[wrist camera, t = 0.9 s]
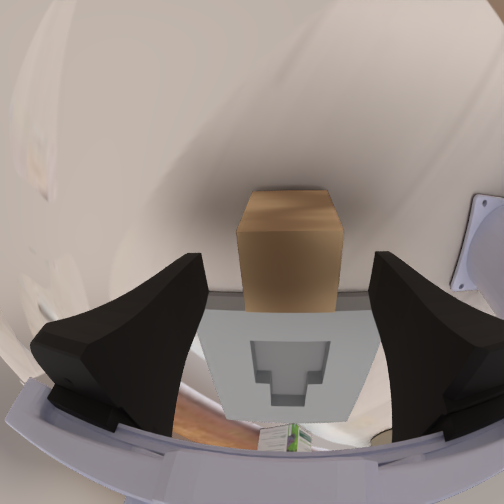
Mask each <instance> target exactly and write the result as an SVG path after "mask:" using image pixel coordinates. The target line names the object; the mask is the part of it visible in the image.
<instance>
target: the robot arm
mask: <svg viewBox="0 0 504 504" xmlns="http://www.w3.org/2000/svg"><path fill="white" fill-rule="evenodd" d="M483 201H484V203H483ZM482 203H483V204H482ZM450 287H451V289H452V291H467V290H477V289H478V290H479V291H480V293H481V294H482V295H483V297H484V298H485V300H486V301H487V303H488V304H489V306H490V307H491V309H492V310H493V312H494V313H495V315H496V316H497V317H494V316H492V315H489V314H487V313H484V312H482V311H480V310H478V309H476V308H474V307H472V306H470V305H468V304H466V303H464V302H462V301H460V300H458V299H456V298H455V297H453V296H452V295H450V294H448V293H446V292H445V291H443V290H442V289H440V288H439V287H437V286H436V285H435V284H433V283H432V282H430V281H429V280H427V279H426V278H425V277H423V276H422V275H421V274H419V273H418V272H417V271H415V270H414V269H413V268H411V267H410V266H409V265H408V264H406V263H405V262H404V261H402V260H401V259H400V258H398V257H397V256H395V255H394V254H392V253H391V252H389V251H375V256H374V262H373V268H372V274H371V279H370V284H369V289H368V294H369V300H370V305H371V310H372V314H373V317H374V320H375V323H376V326H377V329H378V333H379V336H380V339H381V342H382V346H383V349H384V352H385V356H386V361H387V366H388V373H389V380H390V389H391V401H392V443H389V444H384V445H377V446H371V447H363V448H355V449H345V450H332V451H312V452H280V451H259V450H246V449H236V448H227V447H220V446H213V445H206V444H200V443H195V442H189V441H184V440H180V439H175V438H172V429H173V421H174V414H175V408H176V402H177V396H178V391H179V387H180V382H181V377H182V373H183V369H184V365H185V361H186V358H187V355H188V352H189V350H190V347H191V344H192V342H193V339H194V337H195V334H196V332H197V329H198V327H199V324H200V322H201V319H202V316H203V314H204V311H205V307H206V303H207V299H208V294H209V290H208V285H207V280H206V275H205V270H204V265H203V260H202V255H201V253H187V254H185V255H183V256H182V257H180V258H179V259H177V260H176V261H174V262H173V263H171V264H170V265H169V266H167V267H166V268H164V269H163V270H162V271H160V272H159V273H157V274H156V275H155V276H153V277H152V278H150V279H148V280H147V281H145V282H144V283H142V284H141V285H139V286H138V287H136V288H135V289H133V290H131V291H130V292H128V293H126V294H124V295H122V296H121V297H119V298H117V299H115V300H113V301H110V302H108V303H106V304H104V305H102V306H99V307H97V308H95V309H92V310H90V311H87V312H84V313H81V314H79V315H76V316H72V317H69V318H65V319H61V320H57V321H53V322H49V323H46V324H45V325H44V326H43V327H42V329H41V330H40V331H39V332H38V334H37V335H36V336H35V338H34V339H33V340H32V342H31V344H30V348H31V352H32V354H33V356H34V358H35V360H36V361H37V362H38V364H39V365H40V366H41V368H42V369H43V370H44V371H45V373H46V374H47V375H48V376H49V377H50V379H51V380H52V381H53V382H54V383H55V385H54V387H53V389H51V388H49V387H48V386H47V385H45V384H44V383H42V382H40V381H38V380H36V379H34V378H32V377H29V379H28V381H27V382H26V384H25V385H24V387H23V389H22V390H21V392H20V393H19V395H18V397H17V399H16V400H15V402H14V404H13V405H12V407H11V409H10V410H9V412H8V414H7V416H6V418H5V422H6V423H7V424H8V425H10V426H11V427H12V428H13V429H14V430H16V431H17V432H18V433H19V434H20V435H22V436H23V437H24V438H26V439H27V440H28V441H30V442H31V443H32V444H34V445H35V446H36V447H38V448H39V449H40V450H42V451H43V452H45V453H46V454H48V455H50V456H51V457H53V458H54V459H56V460H57V461H59V462H60V463H62V464H64V465H65V466H67V467H69V468H71V469H72V470H74V471H76V472H78V473H80V474H81V475H83V476H85V477H87V478H88V479H90V480H92V481H94V482H96V483H98V484H100V485H103V486H105V487H107V488H109V489H111V490H114V491H116V492H118V493H120V494H123V495H125V496H126V498H125V501H124V504H434V503H437V502H440V501H442V500H445V499H447V498H450V497H452V496H455V495H457V494H459V493H461V492H464V491H466V490H468V489H470V488H472V487H474V486H476V485H478V484H480V483H482V482H484V481H486V480H488V479H490V478H491V477H493V476H495V475H497V474H498V473H500V472H502V471H504V198H502V197H495V196H489V195H482V194H477V195H476V196H475V197H474V199H473V203H472V208H471V213H470V218H469V223H468V227H467V231H466V235H465V239H464V243H463V247H462V250H461V254H460V257H459V261H458V264H457V267H456V270H455V273H454V276H453V279H452V282H451V286H450Z"/></svg>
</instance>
